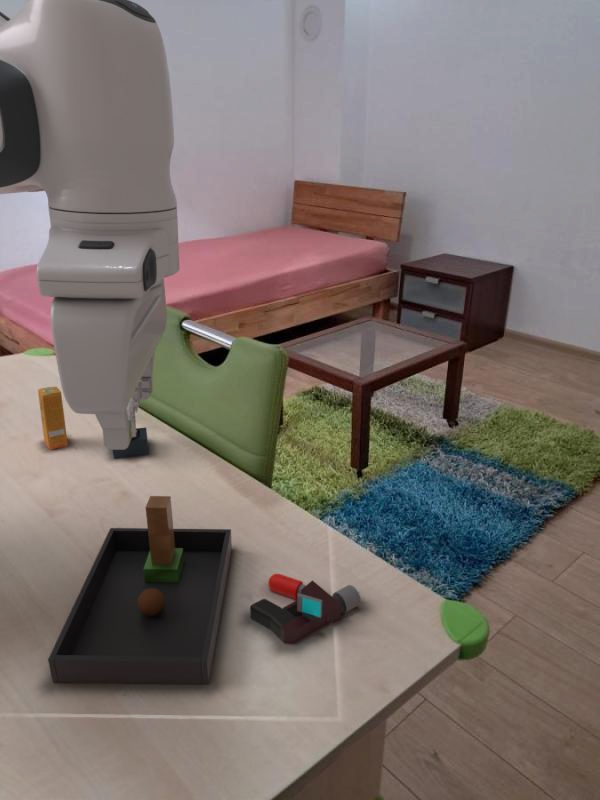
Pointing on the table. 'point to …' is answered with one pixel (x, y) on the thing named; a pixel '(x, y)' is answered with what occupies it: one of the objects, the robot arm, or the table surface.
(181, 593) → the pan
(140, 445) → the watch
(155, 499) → the wooden post on base
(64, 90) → the robot arm
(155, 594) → the brown wooden ball
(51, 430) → the supplement box
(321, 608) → the toy gun
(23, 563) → the table surface
